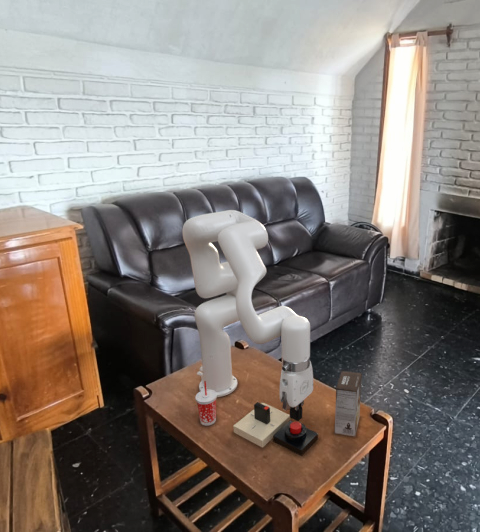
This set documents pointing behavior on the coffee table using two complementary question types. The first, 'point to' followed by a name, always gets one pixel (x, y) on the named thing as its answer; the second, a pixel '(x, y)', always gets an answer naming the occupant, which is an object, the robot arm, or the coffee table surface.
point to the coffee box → (348, 403)
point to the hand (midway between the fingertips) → (296, 418)
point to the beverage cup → (206, 406)
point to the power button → (295, 427)
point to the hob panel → (261, 426)
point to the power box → (295, 439)
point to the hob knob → (262, 413)
